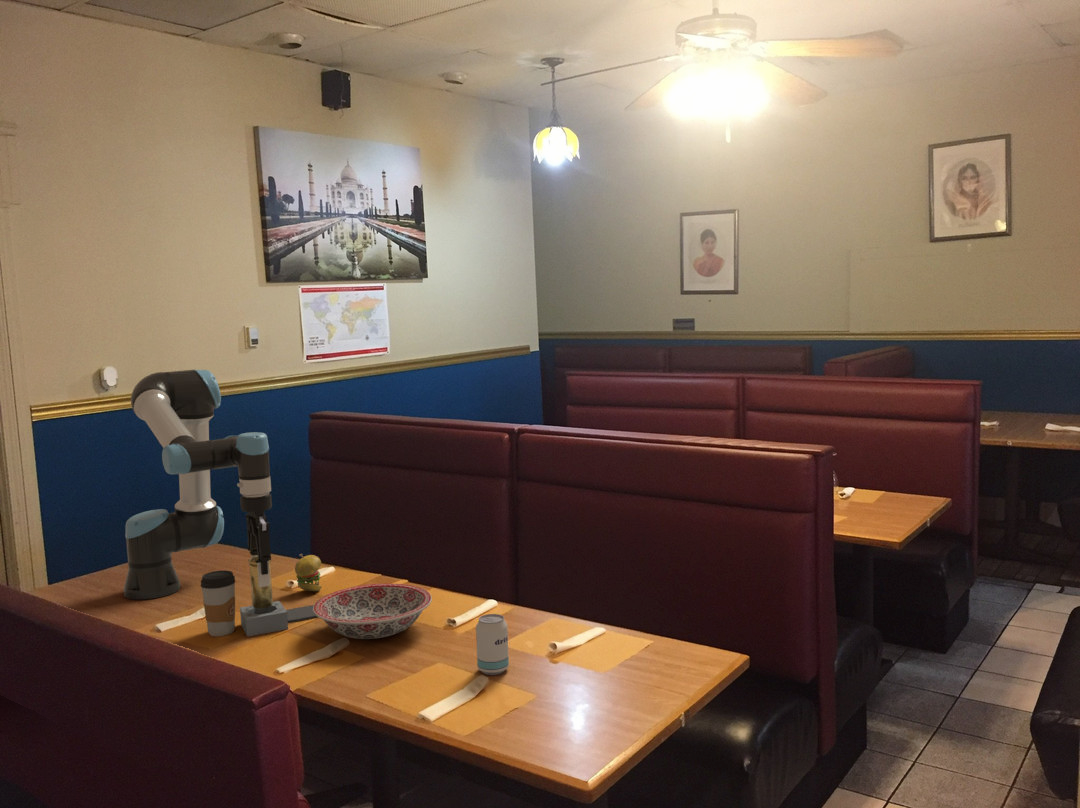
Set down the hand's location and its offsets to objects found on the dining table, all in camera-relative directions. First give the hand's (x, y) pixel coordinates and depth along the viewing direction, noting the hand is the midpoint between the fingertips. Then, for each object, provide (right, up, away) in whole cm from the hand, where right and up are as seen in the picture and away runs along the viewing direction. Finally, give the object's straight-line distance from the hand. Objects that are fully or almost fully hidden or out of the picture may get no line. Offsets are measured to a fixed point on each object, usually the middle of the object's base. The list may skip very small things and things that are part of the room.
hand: (261, 582), depth 227 cm
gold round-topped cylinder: (0, -6, +1) cm, 6 cm away
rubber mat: (+8, -10, +10) cm, 16 cm away
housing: (0, -12, +1) cm, 12 cm away
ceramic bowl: (+30, -12, -5) cm, 33 cm away
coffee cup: (-10, -12, -2) cm, 16 cm away
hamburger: (+5, -9, +28) cm, 30 cm away
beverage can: (+61, -14, -31) cm, 70 cm away
